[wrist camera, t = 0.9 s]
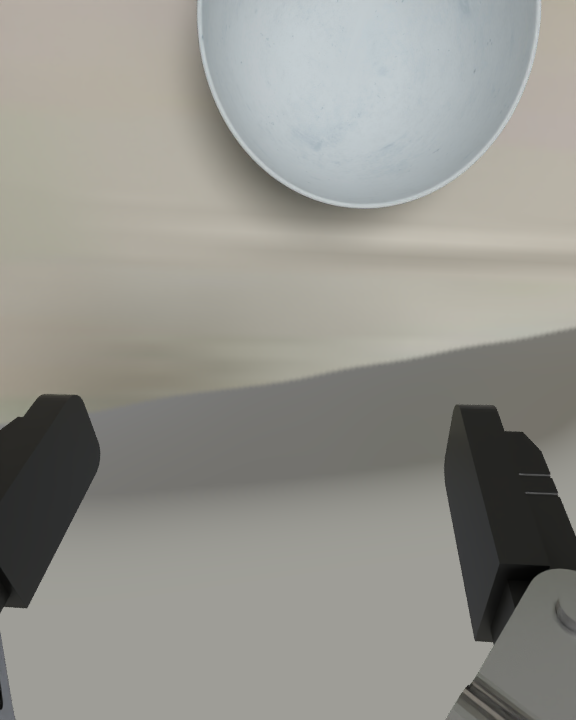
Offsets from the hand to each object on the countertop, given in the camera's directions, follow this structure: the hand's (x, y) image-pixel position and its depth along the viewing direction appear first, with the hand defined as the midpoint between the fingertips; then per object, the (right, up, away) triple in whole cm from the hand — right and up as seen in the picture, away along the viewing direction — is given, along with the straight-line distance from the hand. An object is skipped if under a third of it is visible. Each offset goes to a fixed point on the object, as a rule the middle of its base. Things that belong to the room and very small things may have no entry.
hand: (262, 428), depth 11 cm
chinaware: (+4, +18, +19) cm, 26 cm away
